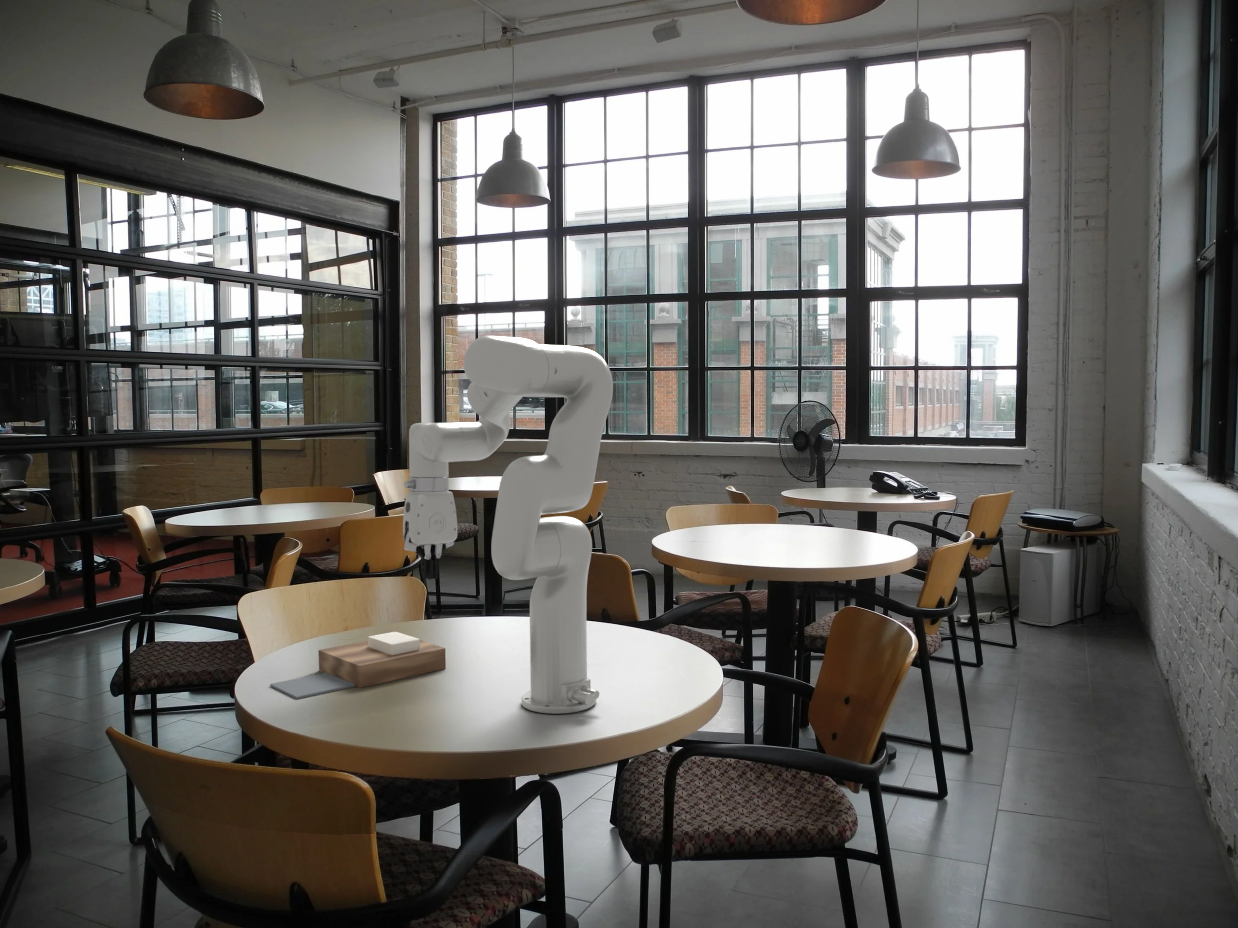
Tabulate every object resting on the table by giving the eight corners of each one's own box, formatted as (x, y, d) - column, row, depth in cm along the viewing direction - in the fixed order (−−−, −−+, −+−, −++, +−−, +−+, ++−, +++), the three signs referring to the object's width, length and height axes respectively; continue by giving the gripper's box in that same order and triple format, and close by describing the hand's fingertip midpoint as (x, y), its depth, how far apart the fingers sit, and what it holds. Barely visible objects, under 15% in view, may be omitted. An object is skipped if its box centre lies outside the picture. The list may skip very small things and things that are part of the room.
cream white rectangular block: (420, 649, 179) (419, 639, 179) (392, 655, 175) (391, 644, 175) (395, 641, 186) (395, 631, 186) (368, 646, 182) (368, 636, 182)
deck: (445, 668, 181) (445, 648, 180) (359, 687, 168) (359, 665, 168) (402, 653, 192) (401, 634, 192) (318, 670, 180) (318, 649, 180)
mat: (354, 686, 169) (354, 684, 169) (297, 699, 162) (296, 696, 162) (326, 674, 177) (326, 672, 177) (270, 685, 170) (270, 683, 170)
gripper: (405, 489, 177) (406, 585, 178) (471, 484, 187) (472, 576, 189) (385, 486, 183) (386, 580, 184) (450, 482, 193) (451, 571, 194)
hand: (429, 577), depth 186 cm, fingers closed
